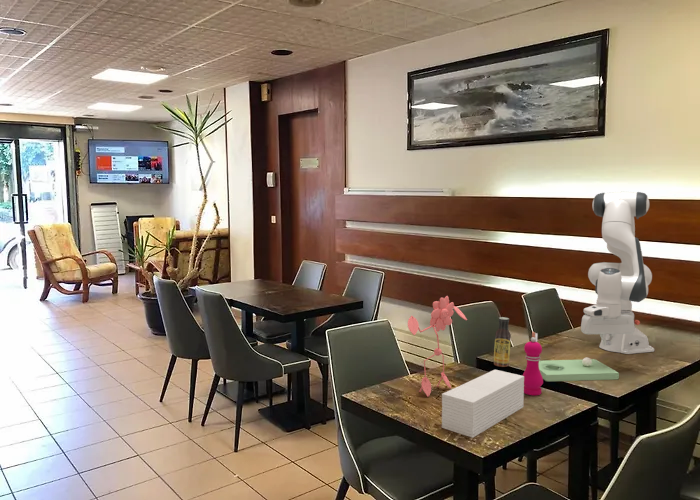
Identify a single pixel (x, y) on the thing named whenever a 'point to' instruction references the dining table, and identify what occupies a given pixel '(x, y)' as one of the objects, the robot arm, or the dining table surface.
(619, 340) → the robot arm
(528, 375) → the pepper mill
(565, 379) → the mat
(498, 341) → the sauce bottle
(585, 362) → the ball
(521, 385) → the stack of papers
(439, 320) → the pink humanoid figure
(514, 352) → the dining table surface
